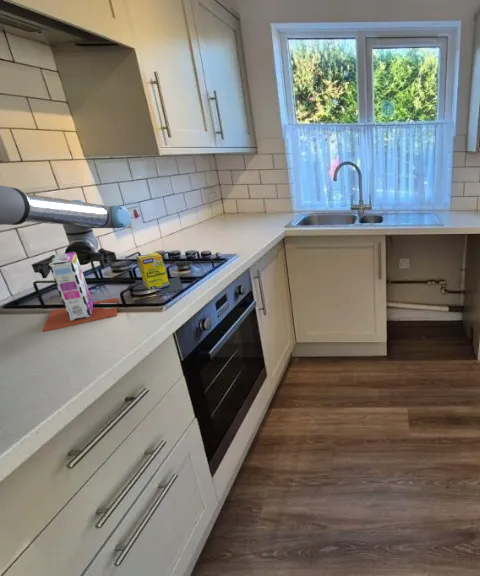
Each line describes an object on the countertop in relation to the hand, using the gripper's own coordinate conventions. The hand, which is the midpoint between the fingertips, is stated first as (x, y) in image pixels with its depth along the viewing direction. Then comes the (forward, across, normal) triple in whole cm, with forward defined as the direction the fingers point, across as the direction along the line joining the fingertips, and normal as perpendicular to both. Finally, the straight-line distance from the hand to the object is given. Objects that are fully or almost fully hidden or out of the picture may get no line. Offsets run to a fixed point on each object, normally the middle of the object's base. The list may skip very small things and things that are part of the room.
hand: (73, 269), depth 105 cm
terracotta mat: (+8, 0, -12) cm, 14 cm away
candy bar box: (+8, 0, -11) cm, 14 cm away
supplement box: (-1, -19, -11) cm, 22 cm away
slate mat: (-1, -19, -12) cm, 22 cm away
